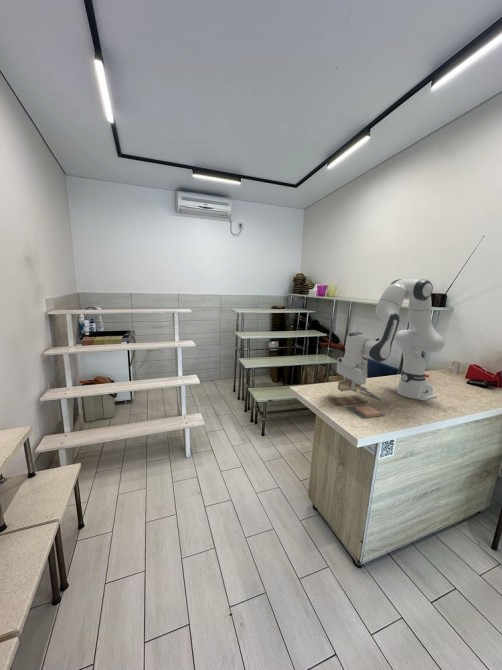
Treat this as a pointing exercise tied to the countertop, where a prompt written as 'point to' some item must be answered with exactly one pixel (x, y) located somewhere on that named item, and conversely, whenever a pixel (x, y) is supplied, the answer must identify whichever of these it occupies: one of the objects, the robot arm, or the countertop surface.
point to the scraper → (348, 386)
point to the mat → (360, 413)
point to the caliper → (371, 394)
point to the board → (347, 400)
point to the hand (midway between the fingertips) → (349, 386)
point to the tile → (368, 411)
